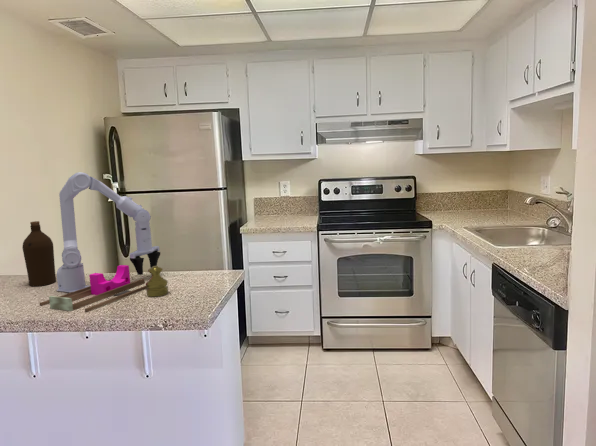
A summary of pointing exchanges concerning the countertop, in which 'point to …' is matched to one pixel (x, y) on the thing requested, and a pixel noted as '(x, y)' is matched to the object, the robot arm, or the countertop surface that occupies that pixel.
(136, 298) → the countertop surface
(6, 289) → the countertop surface
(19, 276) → the countertop surface
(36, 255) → the olive oil
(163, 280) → the gold tapered round piece
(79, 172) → the robot arm
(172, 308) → the countertop surface
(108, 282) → the magenta curved bracket
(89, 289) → the wooden slat rack
